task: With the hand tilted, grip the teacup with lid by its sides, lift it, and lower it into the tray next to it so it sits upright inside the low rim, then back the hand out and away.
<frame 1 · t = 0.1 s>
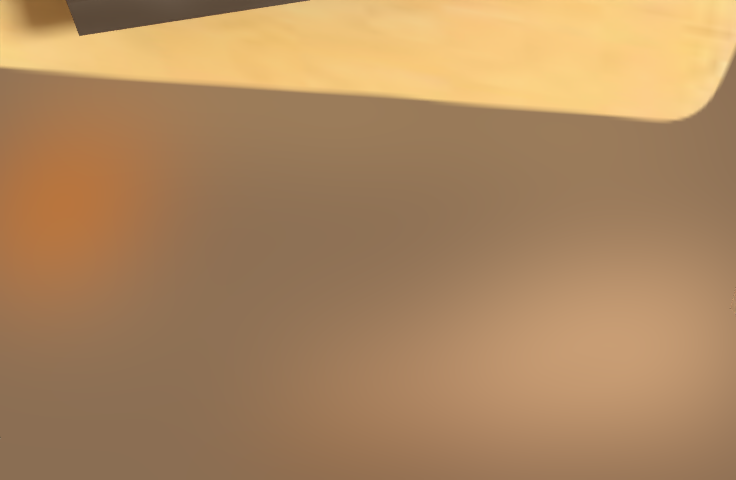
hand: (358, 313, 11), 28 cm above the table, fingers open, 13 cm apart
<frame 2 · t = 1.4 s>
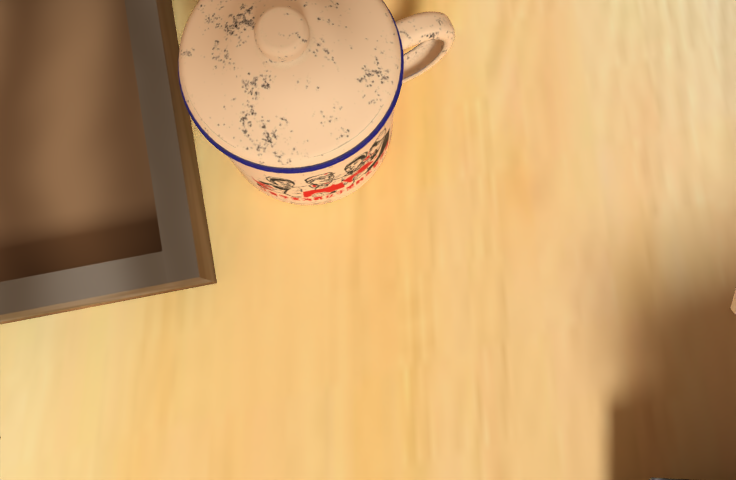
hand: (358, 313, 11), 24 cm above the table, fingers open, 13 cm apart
teacup with lid: (335, 116, 37), on the table
tray: (27, 135, 36), on the table
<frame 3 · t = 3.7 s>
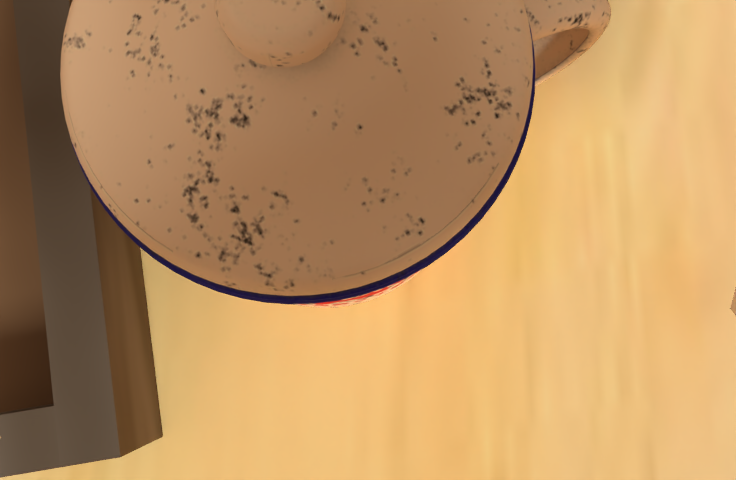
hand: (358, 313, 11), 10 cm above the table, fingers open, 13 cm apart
teacup with lid: (370, 155, 22), on the table
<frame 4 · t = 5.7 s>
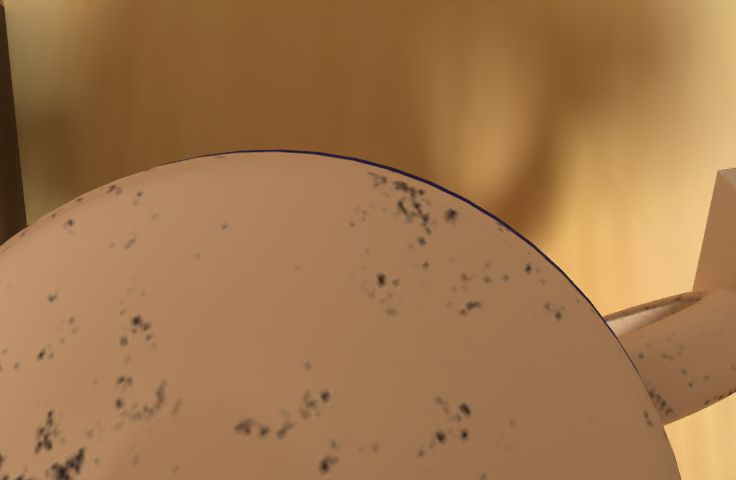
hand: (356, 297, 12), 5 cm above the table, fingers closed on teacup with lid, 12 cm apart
teacup with lid: (379, 421, 16), on the table, touching gripper
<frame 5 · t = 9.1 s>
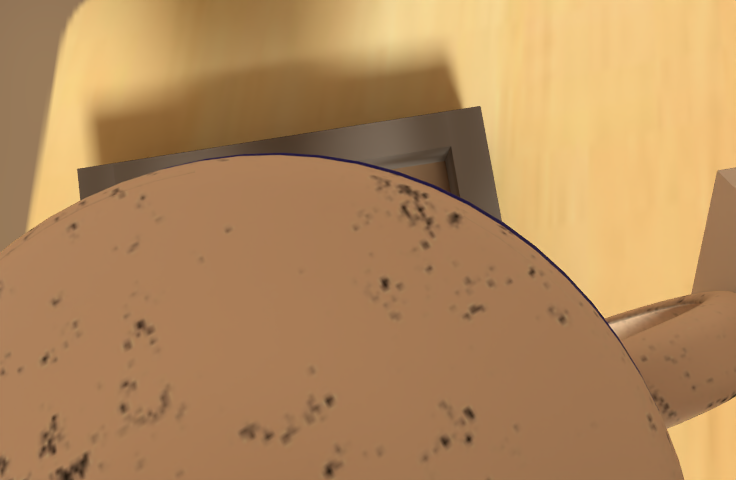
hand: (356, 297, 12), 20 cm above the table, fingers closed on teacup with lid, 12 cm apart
teacup with lid: (381, 422, 16), point 15 cm above the table, touching gripper
tray: (319, 362, 31), on the table
when the fingers open (7 cm above the table, at t = 12.4 s): teacup with lid drops 1 cm, resting on tray.
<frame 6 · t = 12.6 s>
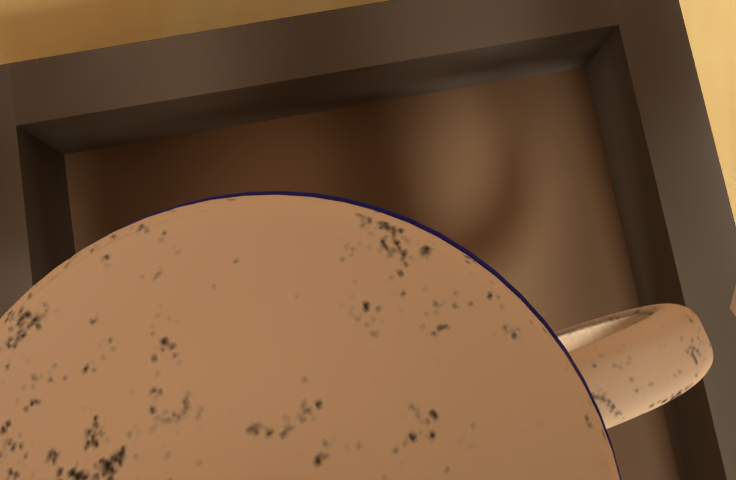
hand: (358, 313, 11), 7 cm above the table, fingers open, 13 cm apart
teacup with lid: (373, 419, 17), point 1 cm above the table, touching tray
tray: (378, 411, 18), on the table
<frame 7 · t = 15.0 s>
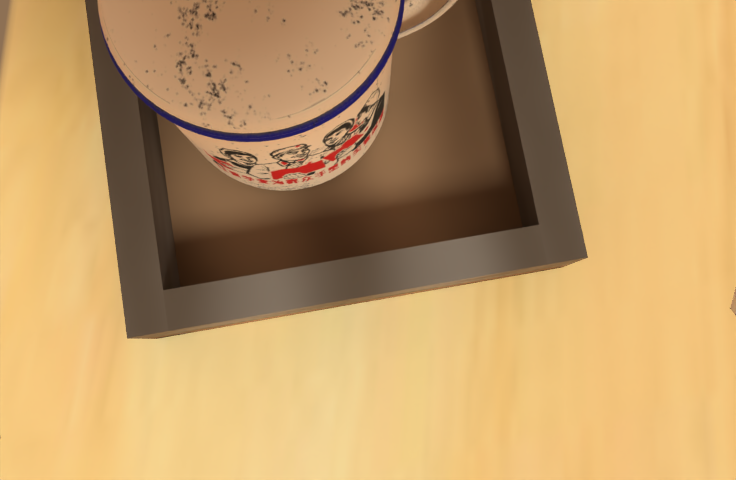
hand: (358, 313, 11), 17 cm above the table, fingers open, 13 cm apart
teacup with lid: (318, 81, 29), point 1 cm above the table, touching tray
tray: (322, 86, 30), on the table
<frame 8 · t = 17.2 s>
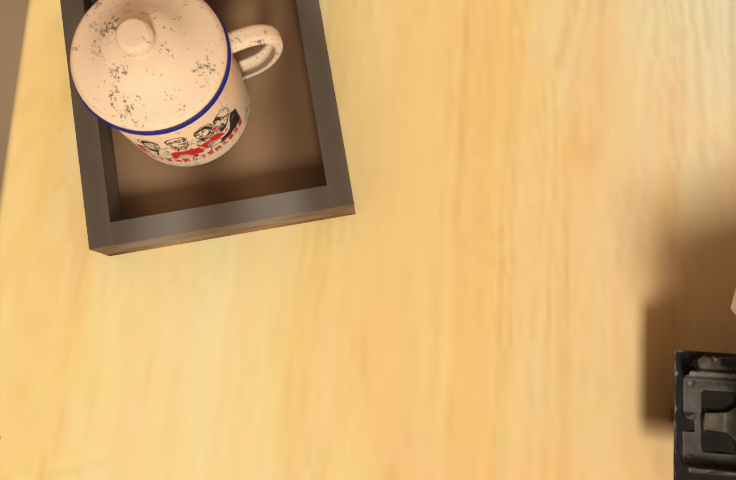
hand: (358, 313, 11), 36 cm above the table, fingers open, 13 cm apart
teacup with lid: (209, 101, 48), point 1 cm above the table, touching tray
tray: (213, 103, 49), on the table
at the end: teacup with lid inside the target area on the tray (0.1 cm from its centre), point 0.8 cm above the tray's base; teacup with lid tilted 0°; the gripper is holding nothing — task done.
